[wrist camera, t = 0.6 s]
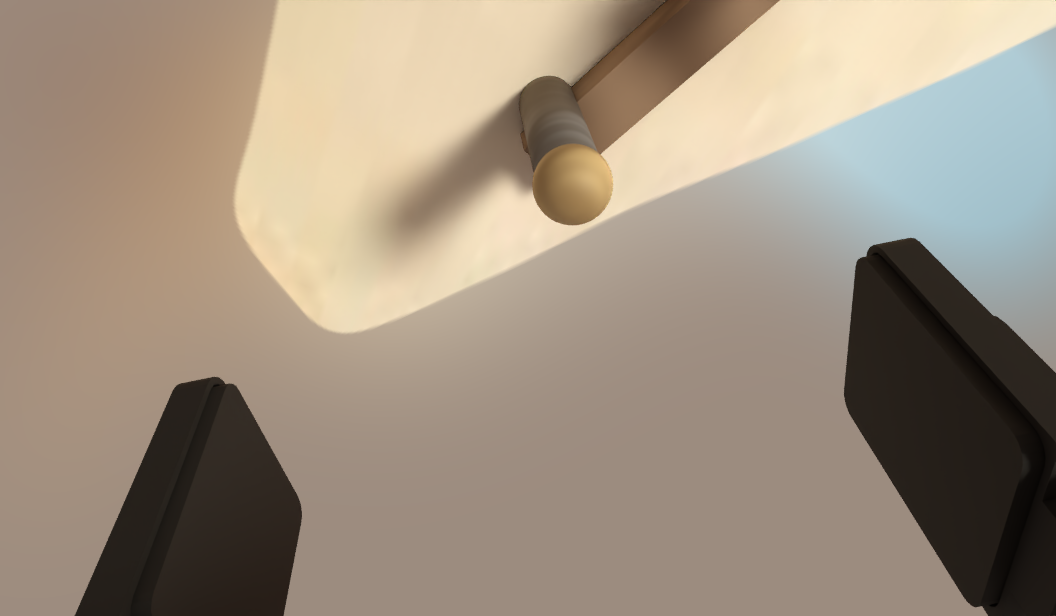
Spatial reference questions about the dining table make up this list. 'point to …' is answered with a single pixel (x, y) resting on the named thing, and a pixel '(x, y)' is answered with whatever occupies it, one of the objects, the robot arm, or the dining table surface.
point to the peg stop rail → (618, 100)
